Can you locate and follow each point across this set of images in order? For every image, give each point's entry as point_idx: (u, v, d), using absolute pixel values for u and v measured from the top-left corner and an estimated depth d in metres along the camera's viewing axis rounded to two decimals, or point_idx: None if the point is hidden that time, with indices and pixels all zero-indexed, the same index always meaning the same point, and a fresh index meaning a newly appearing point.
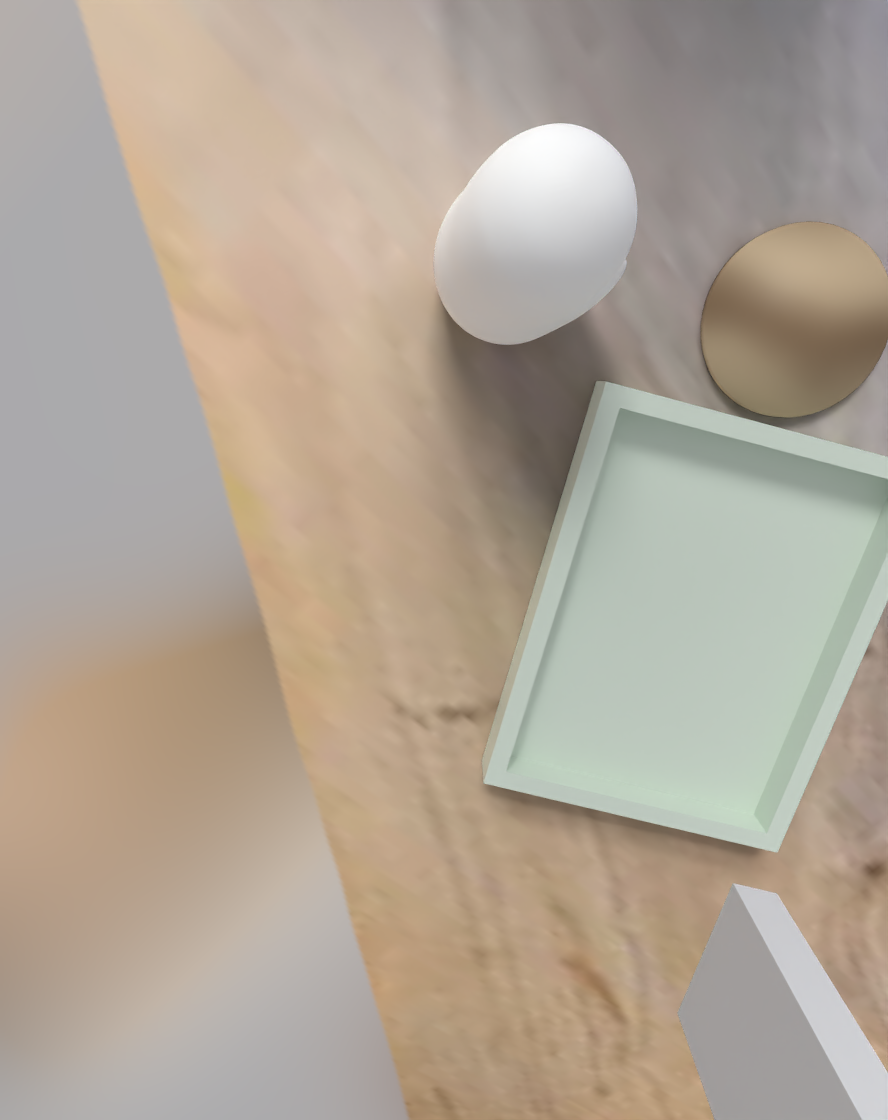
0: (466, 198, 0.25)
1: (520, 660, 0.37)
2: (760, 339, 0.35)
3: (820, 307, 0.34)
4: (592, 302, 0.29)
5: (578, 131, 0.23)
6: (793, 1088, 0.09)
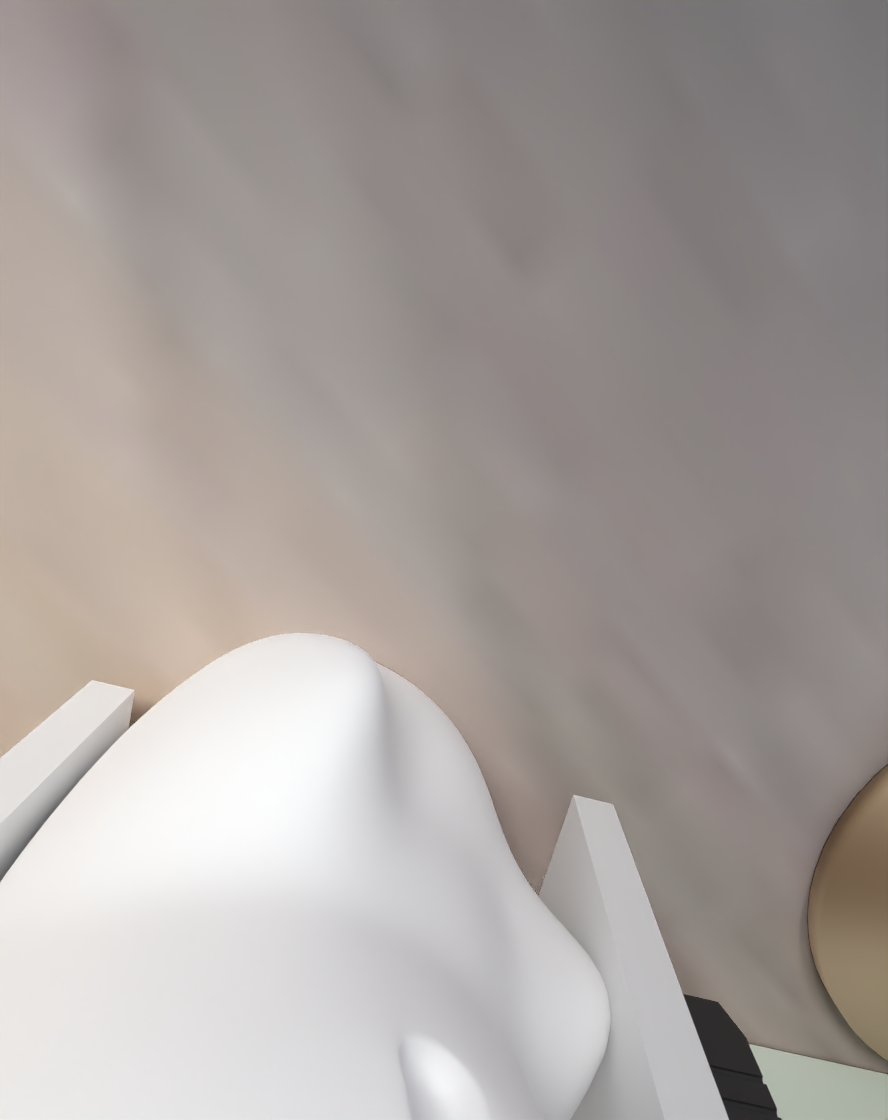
0: None
1: None
2: None
3: None
4: None
5: None
6: (587, 951, 0.10)
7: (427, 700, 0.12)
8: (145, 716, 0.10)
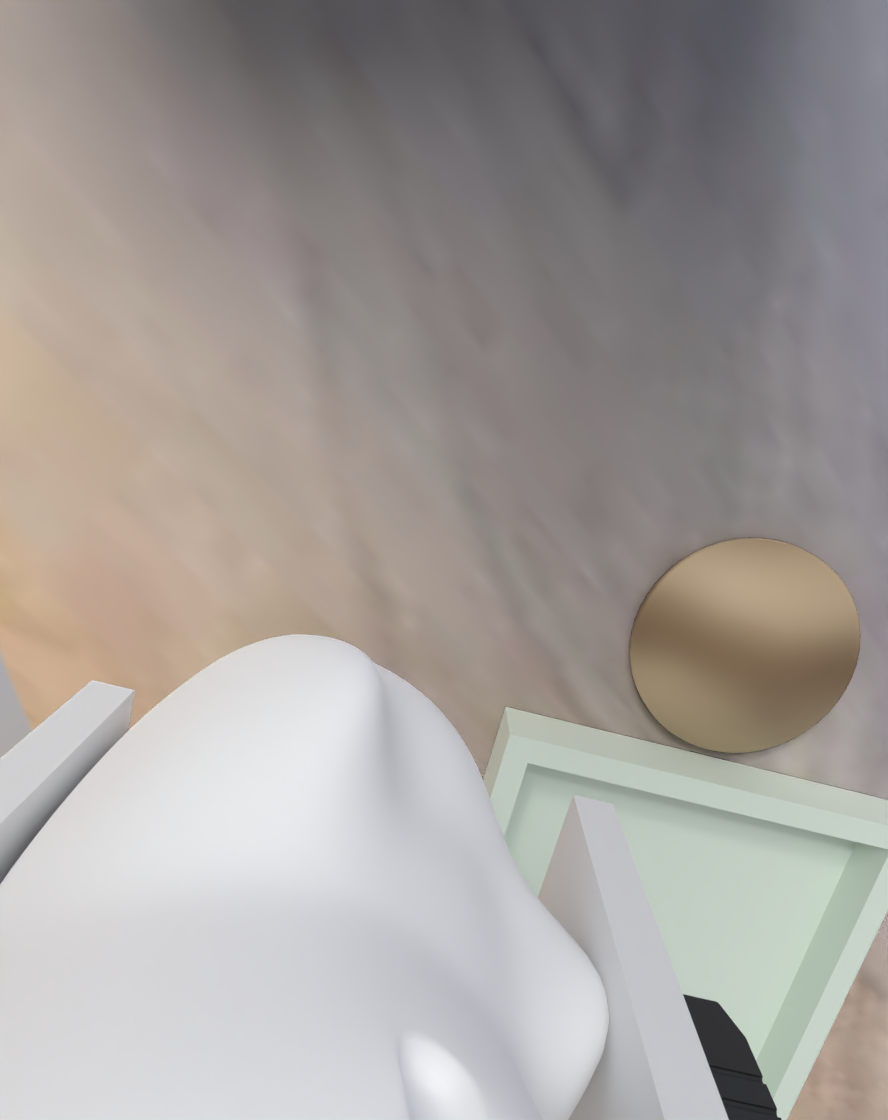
0: None
1: None
2: (700, 668, 0.29)
3: (772, 634, 0.28)
4: None
5: None
6: (587, 951, 0.10)
7: (426, 701, 0.12)
8: (145, 717, 0.10)
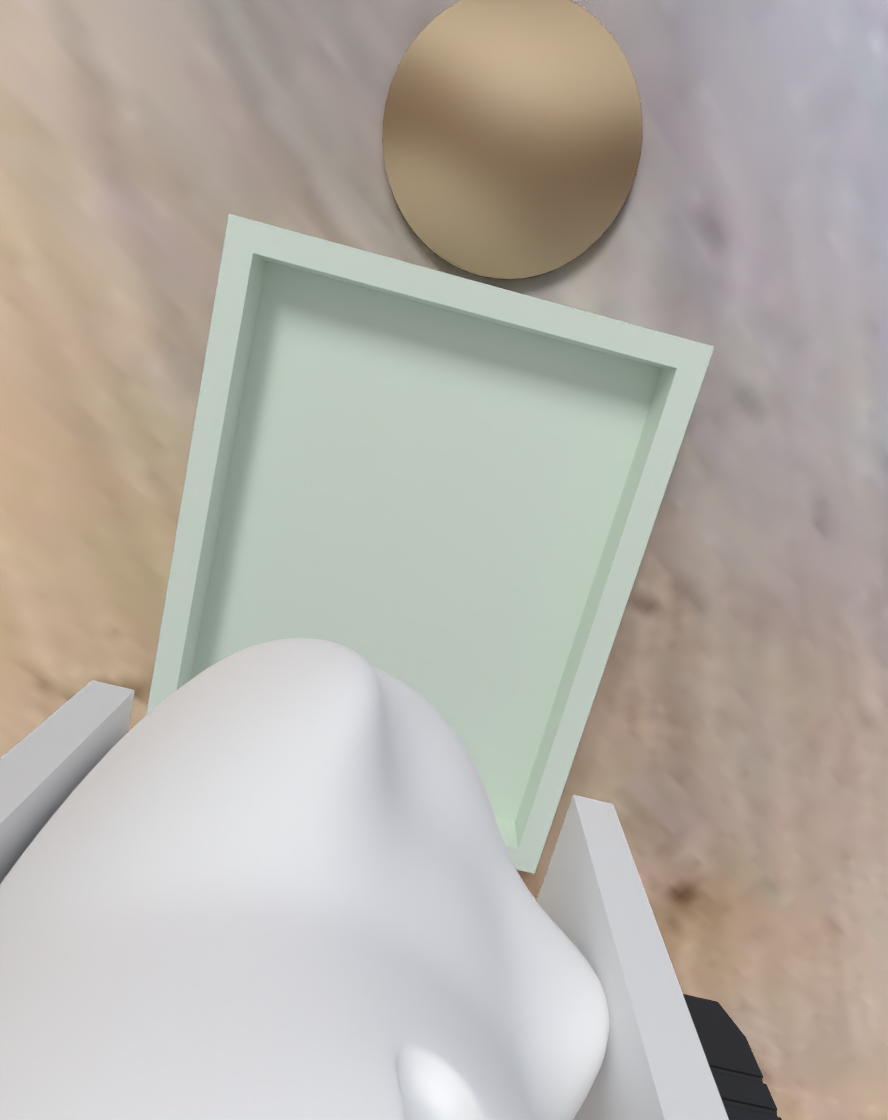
0: None
1: None
2: (462, 163, 0.25)
3: (541, 116, 0.25)
4: None
5: None
6: (587, 952, 0.10)
7: (426, 704, 0.12)
8: (143, 721, 0.10)
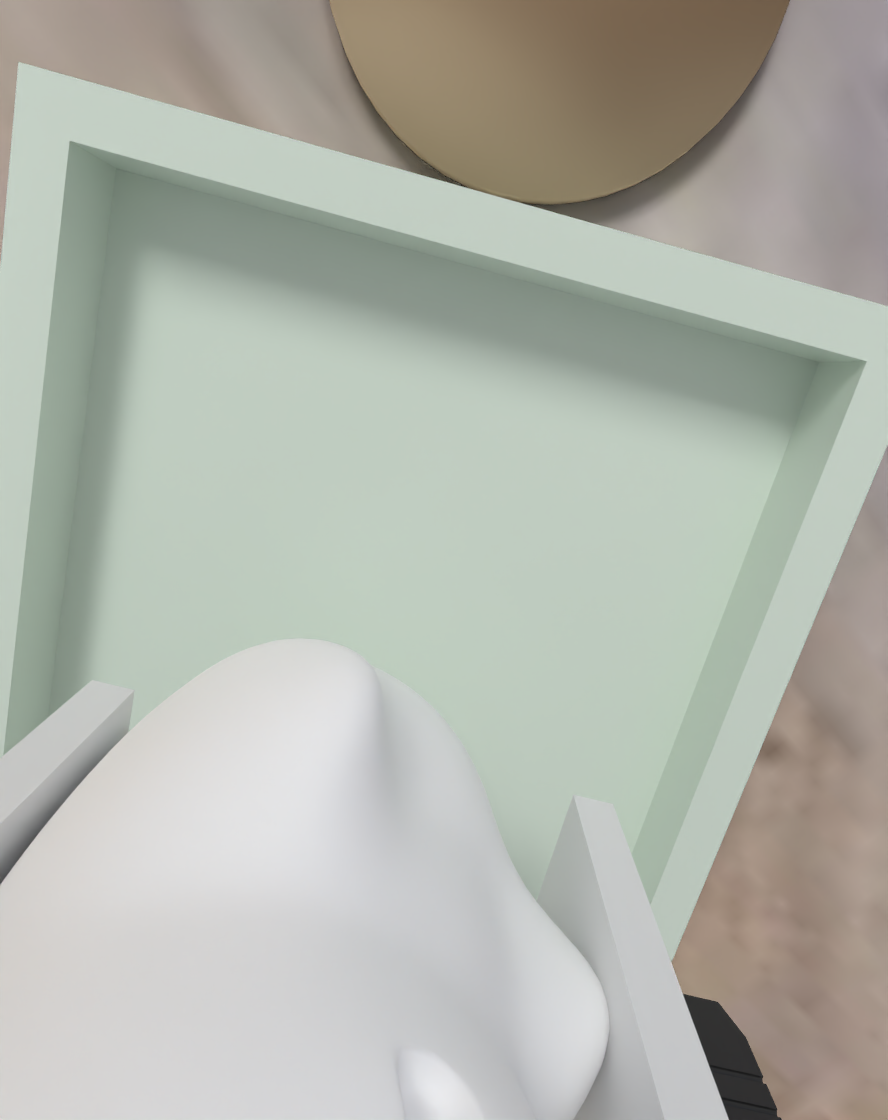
0: None
1: None
2: None
3: None
4: None
5: None
6: (587, 952, 0.10)
7: (426, 705, 0.12)
8: (143, 722, 0.10)
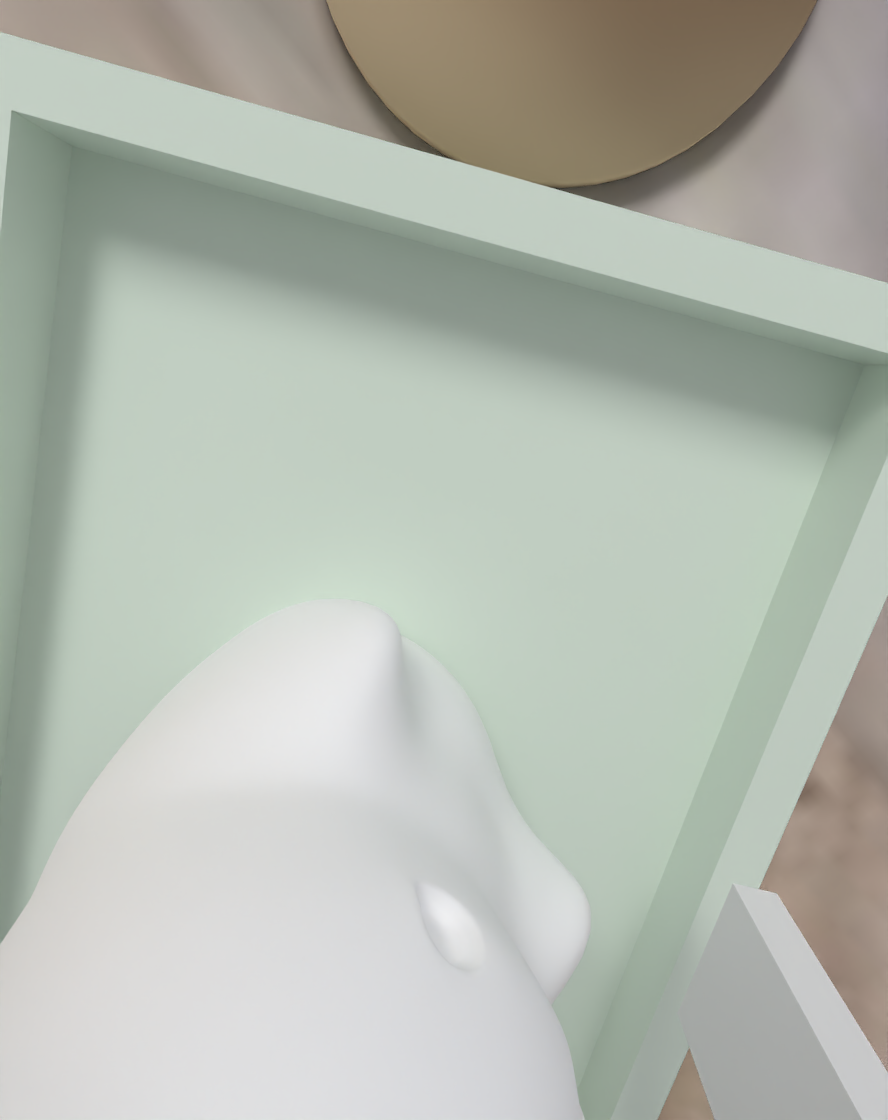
0: None
1: None
2: None
3: None
4: None
5: None
6: (793, 1087, 0.09)
7: (437, 662, 0.13)
8: (195, 669, 0.12)
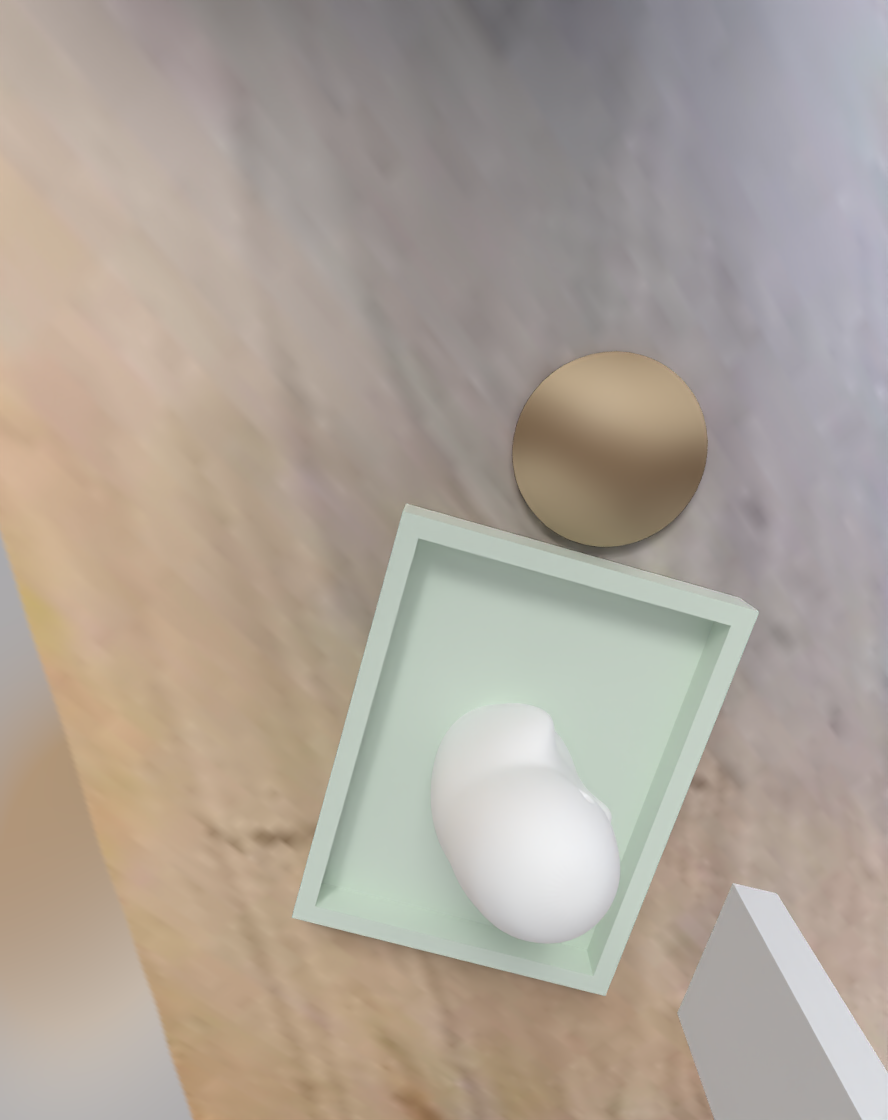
0: (462, 840, 0.27)
1: (326, 791, 0.35)
2: (572, 467, 0.33)
3: (632, 437, 0.33)
4: None
5: (566, 831, 0.25)
6: (793, 1087, 0.09)
7: None
8: (468, 728, 0.33)
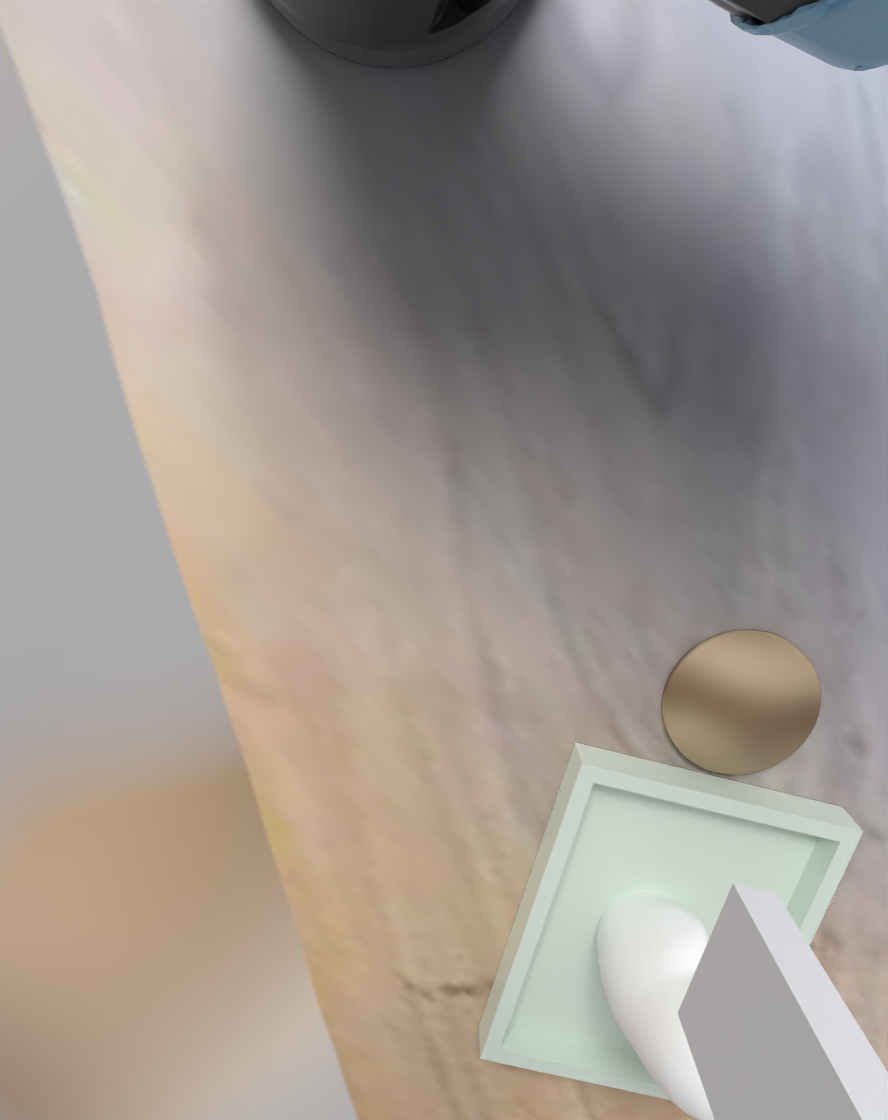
0: (653, 1043, 0.36)
1: (511, 965, 0.44)
2: (711, 717, 0.42)
3: (760, 694, 0.41)
4: None
5: None
6: (793, 1088, 0.09)
7: (691, 913, 0.43)
8: (631, 924, 0.42)
